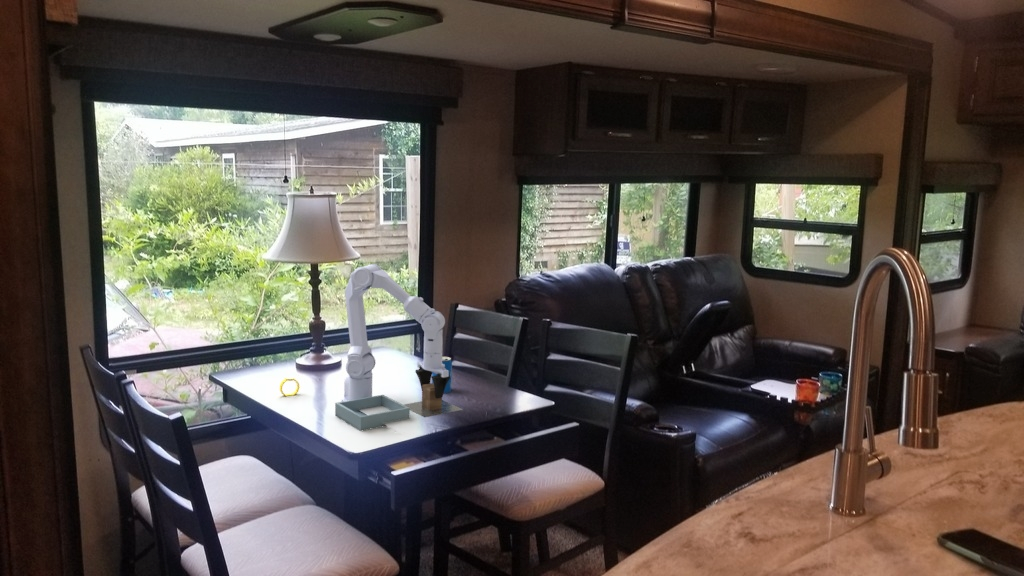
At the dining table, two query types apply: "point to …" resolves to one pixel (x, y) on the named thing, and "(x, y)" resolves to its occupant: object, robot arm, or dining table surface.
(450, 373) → the beverage can
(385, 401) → the bin
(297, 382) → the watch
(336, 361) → the dining table surface
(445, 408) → the stud base
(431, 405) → the brown wooden block
